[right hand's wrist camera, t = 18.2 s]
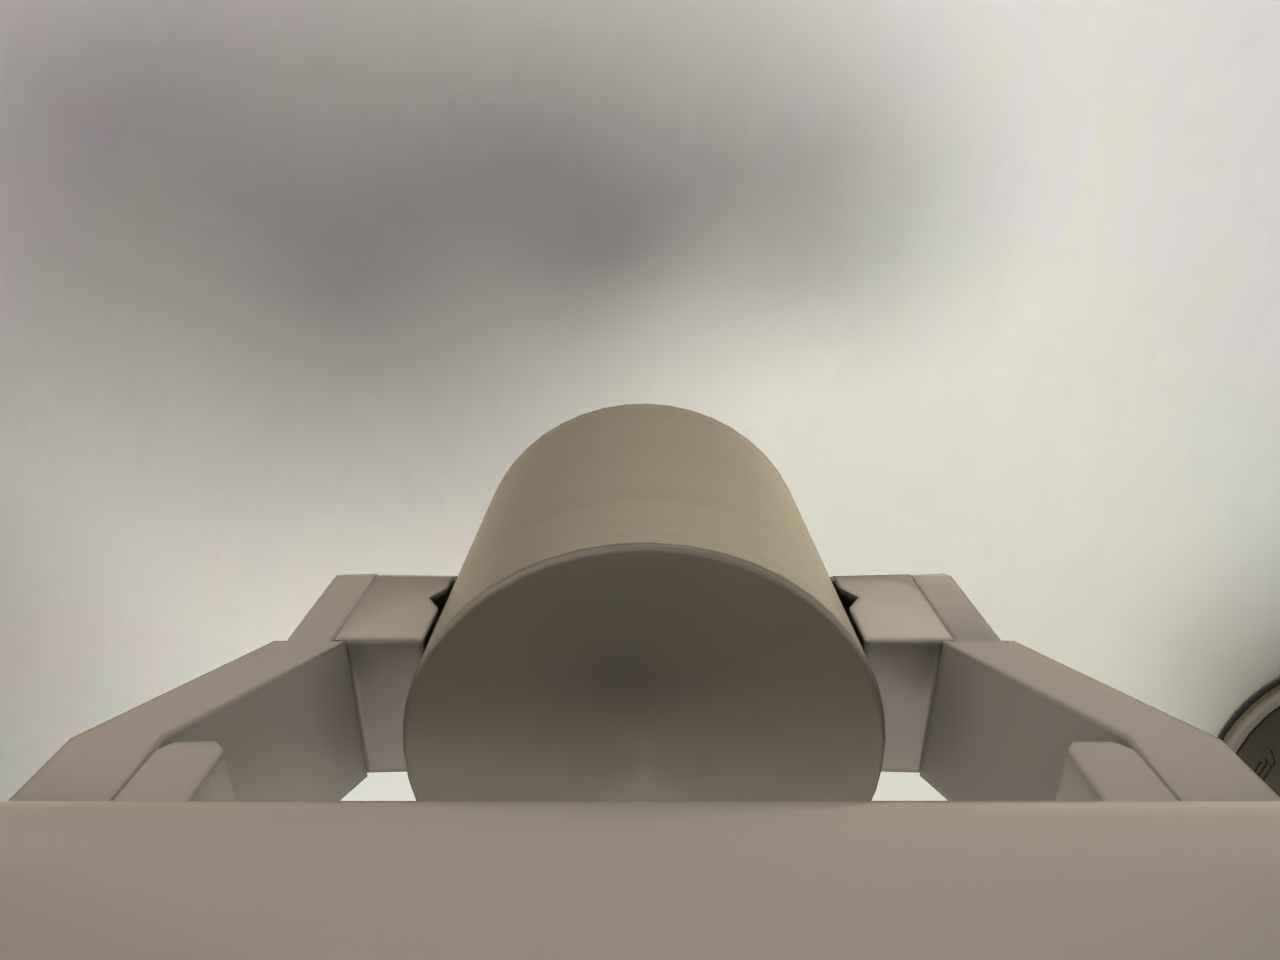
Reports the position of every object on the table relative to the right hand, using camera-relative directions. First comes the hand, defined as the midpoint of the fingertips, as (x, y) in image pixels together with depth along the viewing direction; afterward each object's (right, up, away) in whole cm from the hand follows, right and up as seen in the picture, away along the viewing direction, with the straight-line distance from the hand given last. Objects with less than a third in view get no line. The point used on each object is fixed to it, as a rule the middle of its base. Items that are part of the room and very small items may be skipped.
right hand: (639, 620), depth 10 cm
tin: (0, +1, +2) cm, 2 cm away
